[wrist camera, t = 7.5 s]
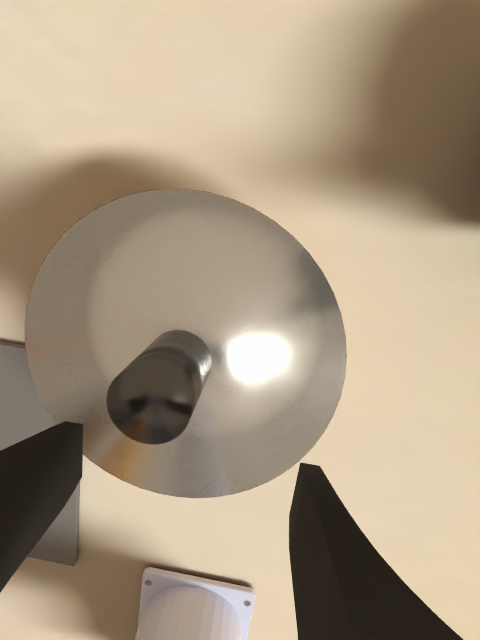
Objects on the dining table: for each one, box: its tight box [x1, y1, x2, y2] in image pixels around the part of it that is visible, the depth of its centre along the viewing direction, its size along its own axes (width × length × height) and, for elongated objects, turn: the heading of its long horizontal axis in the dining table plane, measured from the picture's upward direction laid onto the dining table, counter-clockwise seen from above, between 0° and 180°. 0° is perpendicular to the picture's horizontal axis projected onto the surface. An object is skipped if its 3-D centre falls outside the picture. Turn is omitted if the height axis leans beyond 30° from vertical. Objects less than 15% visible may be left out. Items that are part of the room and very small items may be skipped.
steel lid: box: [25, 189, 347, 498], centre depth 14 cm, size 14×14×5 cm
